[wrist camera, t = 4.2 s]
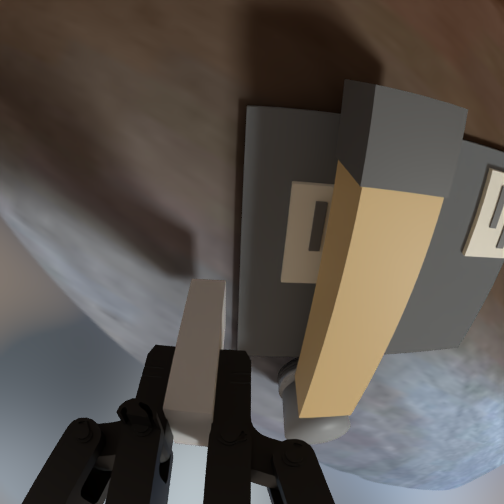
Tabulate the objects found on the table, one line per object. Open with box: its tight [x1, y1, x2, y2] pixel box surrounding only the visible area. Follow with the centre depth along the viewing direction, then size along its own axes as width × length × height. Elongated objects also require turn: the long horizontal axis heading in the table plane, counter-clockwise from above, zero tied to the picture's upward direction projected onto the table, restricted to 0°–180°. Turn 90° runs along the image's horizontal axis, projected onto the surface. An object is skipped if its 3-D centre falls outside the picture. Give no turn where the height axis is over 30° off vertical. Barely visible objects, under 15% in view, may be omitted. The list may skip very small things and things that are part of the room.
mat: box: [237, 105, 504, 357], centre depth 16 cm, size 14×16×1 cm
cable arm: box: [282, 79, 468, 444], centre depth 14 cm, size 20×4×3 cm, turn 177°
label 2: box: [462, 168, 504, 258], centre depth 14 cm, size 5×4×1 cm
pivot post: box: [278, 358, 299, 398], centre depth 20 cm, size 4×4×1 cm
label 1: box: [281, 181, 334, 283], centre depth 15 cm, size 5×4×1 cm
